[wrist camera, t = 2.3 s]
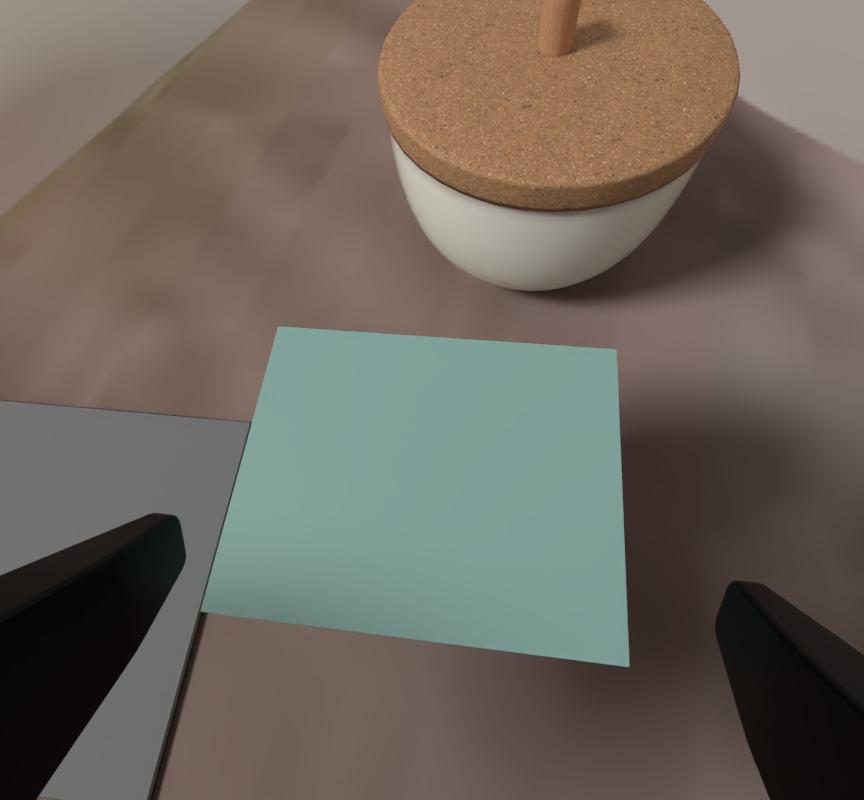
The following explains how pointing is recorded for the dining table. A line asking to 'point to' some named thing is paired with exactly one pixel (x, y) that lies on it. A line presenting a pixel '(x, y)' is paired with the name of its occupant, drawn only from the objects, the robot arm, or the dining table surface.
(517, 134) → the lidded jar
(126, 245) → the dining table surface
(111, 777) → the mat
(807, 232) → the dining table surface
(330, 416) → the block
